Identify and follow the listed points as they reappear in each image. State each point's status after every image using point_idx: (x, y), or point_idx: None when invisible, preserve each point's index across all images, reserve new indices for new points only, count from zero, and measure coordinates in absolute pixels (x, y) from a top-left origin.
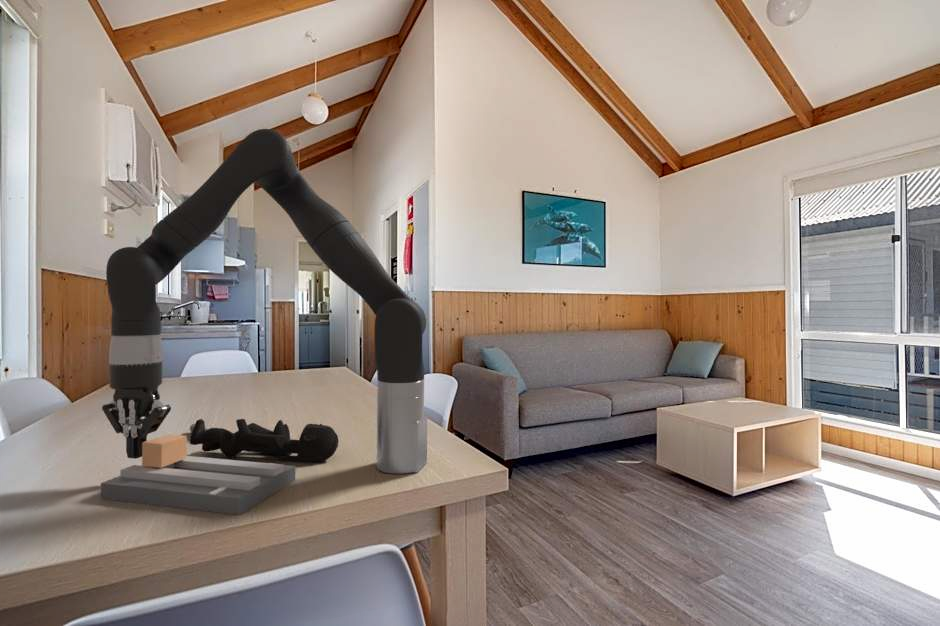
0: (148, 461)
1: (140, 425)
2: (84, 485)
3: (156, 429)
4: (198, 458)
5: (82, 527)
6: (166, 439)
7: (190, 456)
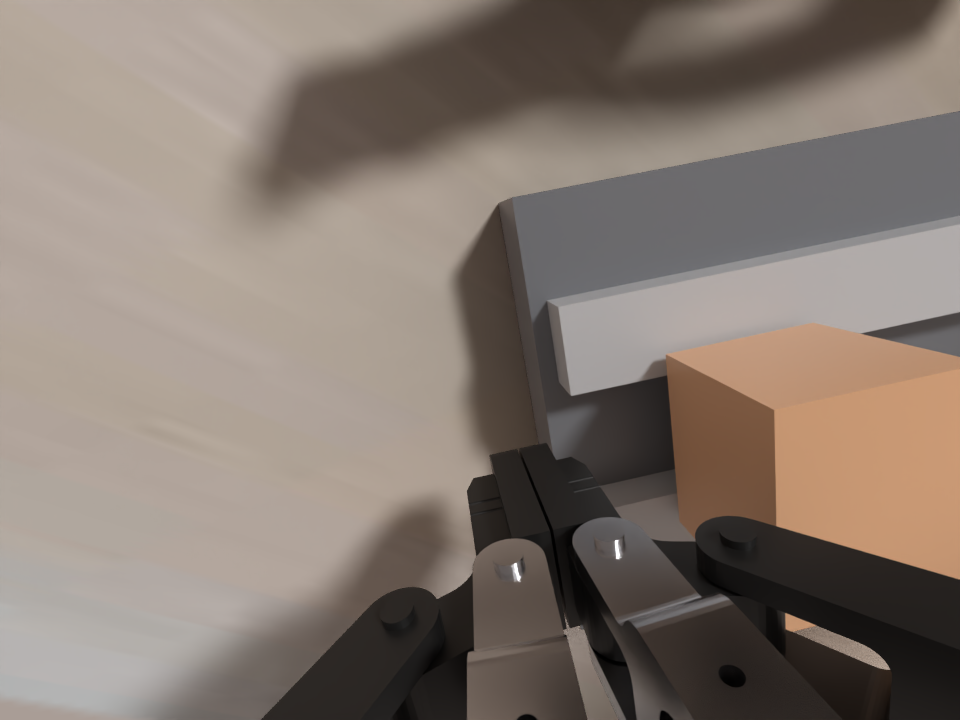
0: None
1: (554, 607)
2: (323, 546)
3: (767, 534)
4: (861, 271)
5: None
6: (896, 508)
7: (775, 265)
